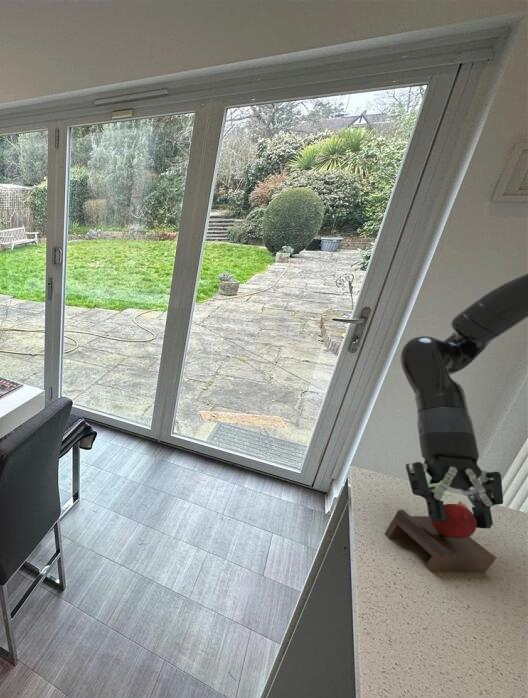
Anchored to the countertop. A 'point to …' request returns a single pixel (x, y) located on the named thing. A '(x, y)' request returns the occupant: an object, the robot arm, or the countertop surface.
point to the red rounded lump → (456, 522)
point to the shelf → (441, 545)
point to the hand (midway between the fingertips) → (461, 524)
